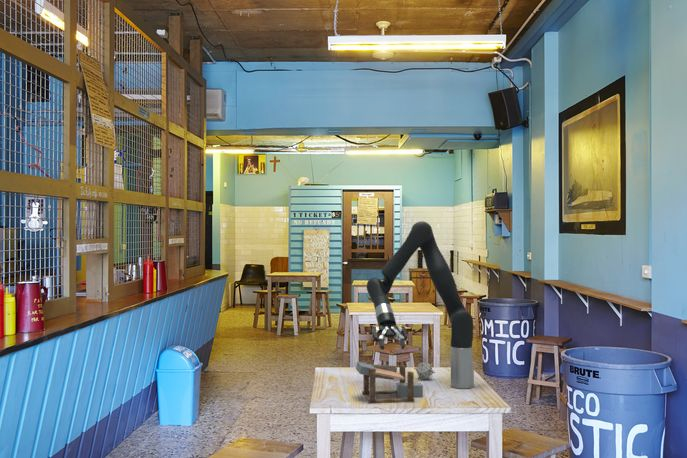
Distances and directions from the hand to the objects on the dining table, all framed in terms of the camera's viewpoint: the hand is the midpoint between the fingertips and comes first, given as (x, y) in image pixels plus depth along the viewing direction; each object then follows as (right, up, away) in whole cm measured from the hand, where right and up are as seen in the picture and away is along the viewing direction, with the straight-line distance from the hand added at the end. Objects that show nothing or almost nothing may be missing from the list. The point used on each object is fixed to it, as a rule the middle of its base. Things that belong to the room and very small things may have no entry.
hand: (393, 348), depth 249 cm
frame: (-2, -19, -3) cm, 20 cm away
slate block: (+7, -17, 0) cm, 18 cm away
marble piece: (-3, -21, +40) cm, 45 cm away
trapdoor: (-6, -10, -4) cm, 12 cm away
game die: (+17, -20, +31) cm, 41 cm away
